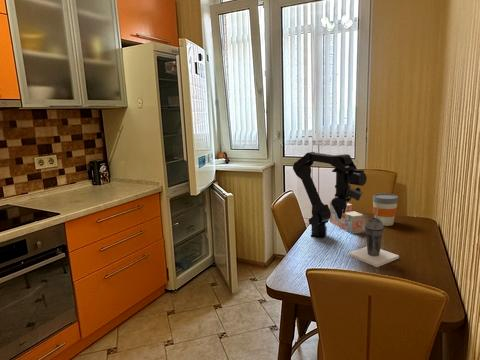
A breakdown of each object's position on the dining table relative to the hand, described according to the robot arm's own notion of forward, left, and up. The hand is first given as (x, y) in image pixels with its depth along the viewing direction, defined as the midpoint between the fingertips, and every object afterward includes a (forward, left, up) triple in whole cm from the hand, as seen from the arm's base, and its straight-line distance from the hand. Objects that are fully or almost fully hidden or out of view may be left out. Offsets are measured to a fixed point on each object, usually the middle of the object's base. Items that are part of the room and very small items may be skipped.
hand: (341, 216), depth 157 cm
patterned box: (-2, +24, -13) cm, 27 cm away
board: (+15, -11, -13) cm, 23 cm away
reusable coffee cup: (+16, +37, -13) cm, 42 cm away
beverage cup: (+15, -11, -12) cm, 22 cm away
